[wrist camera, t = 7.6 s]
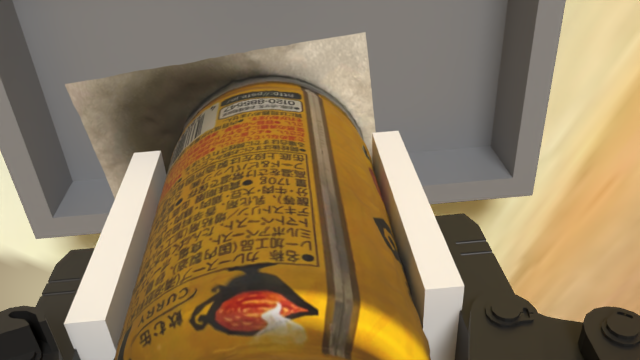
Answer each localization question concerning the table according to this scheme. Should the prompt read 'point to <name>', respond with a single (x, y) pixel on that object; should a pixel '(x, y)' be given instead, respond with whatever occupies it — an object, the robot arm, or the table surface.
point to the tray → (270, 31)
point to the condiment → (258, 208)
